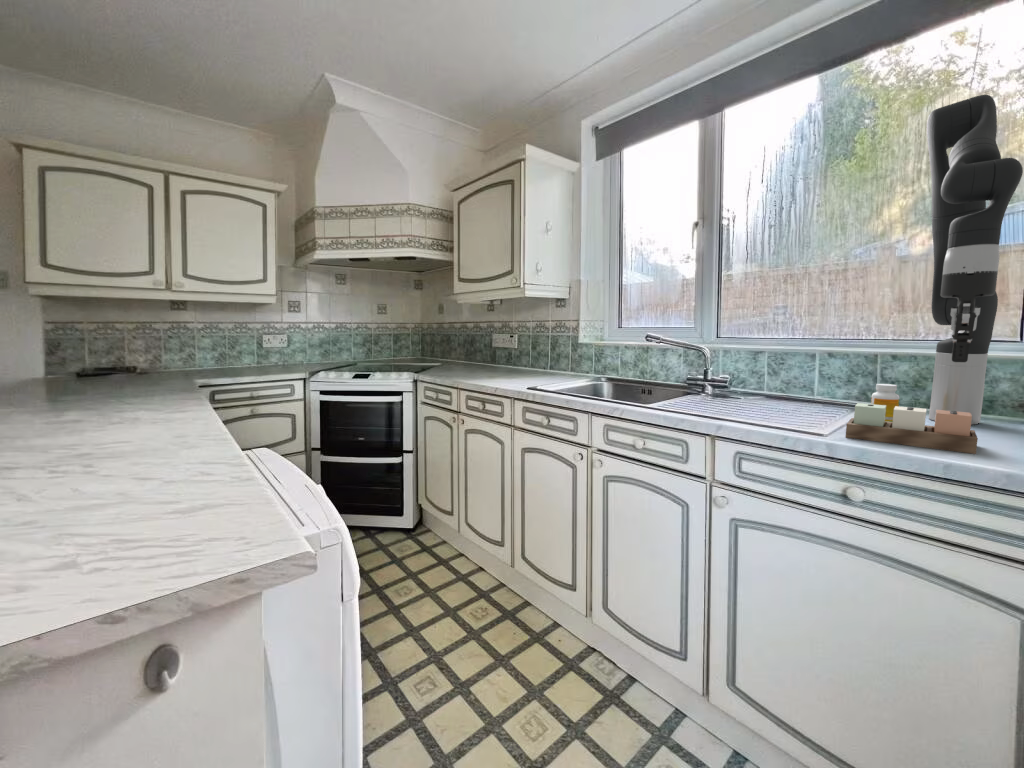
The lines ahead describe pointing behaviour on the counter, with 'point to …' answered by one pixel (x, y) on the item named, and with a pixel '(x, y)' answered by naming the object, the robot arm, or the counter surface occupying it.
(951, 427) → the salmon pink block
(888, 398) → the supplement bottle
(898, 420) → the cream block
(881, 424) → the pale green block
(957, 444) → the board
